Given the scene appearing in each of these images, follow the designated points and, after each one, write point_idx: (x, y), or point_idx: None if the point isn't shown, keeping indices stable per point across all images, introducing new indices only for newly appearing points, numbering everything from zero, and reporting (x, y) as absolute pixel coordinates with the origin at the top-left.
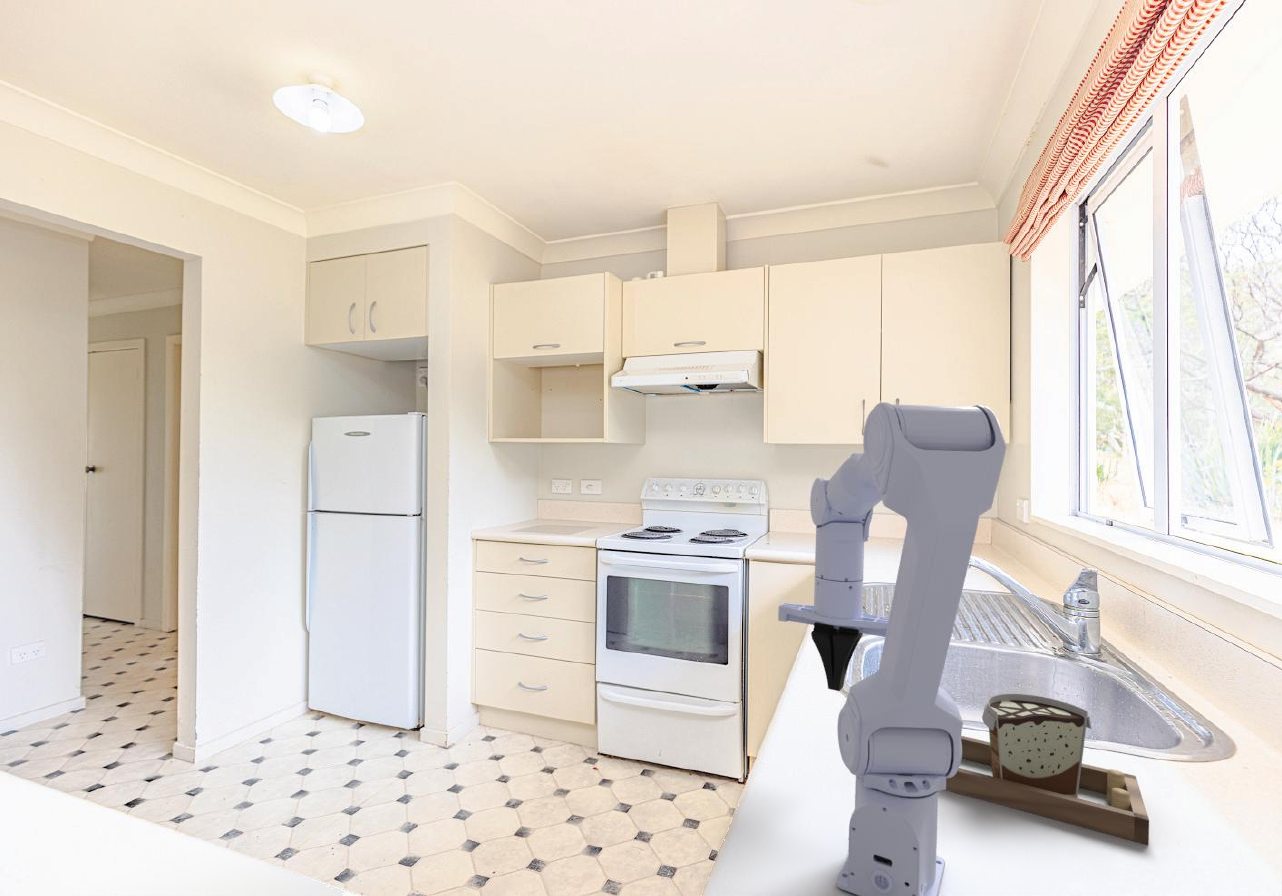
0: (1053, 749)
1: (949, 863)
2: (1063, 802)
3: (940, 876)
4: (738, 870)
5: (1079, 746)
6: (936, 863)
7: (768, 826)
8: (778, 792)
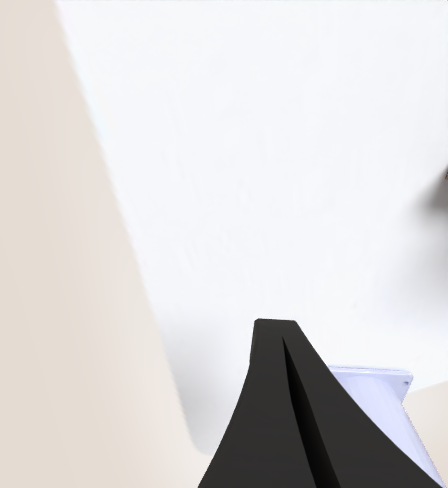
0: None
1: (416, 363)
2: None
3: (402, 401)
4: (206, 445)
5: None
6: (402, 385)
7: (206, 387)
8: (189, 321)
